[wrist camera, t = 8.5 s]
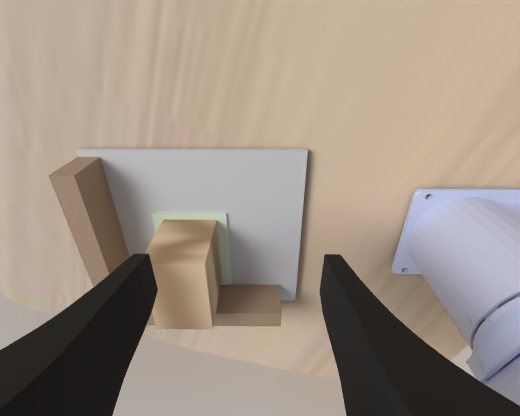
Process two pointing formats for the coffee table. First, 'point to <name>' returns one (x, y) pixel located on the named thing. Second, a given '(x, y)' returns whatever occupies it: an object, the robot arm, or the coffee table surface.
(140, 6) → the coffee table surface
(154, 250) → the oak block
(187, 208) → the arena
